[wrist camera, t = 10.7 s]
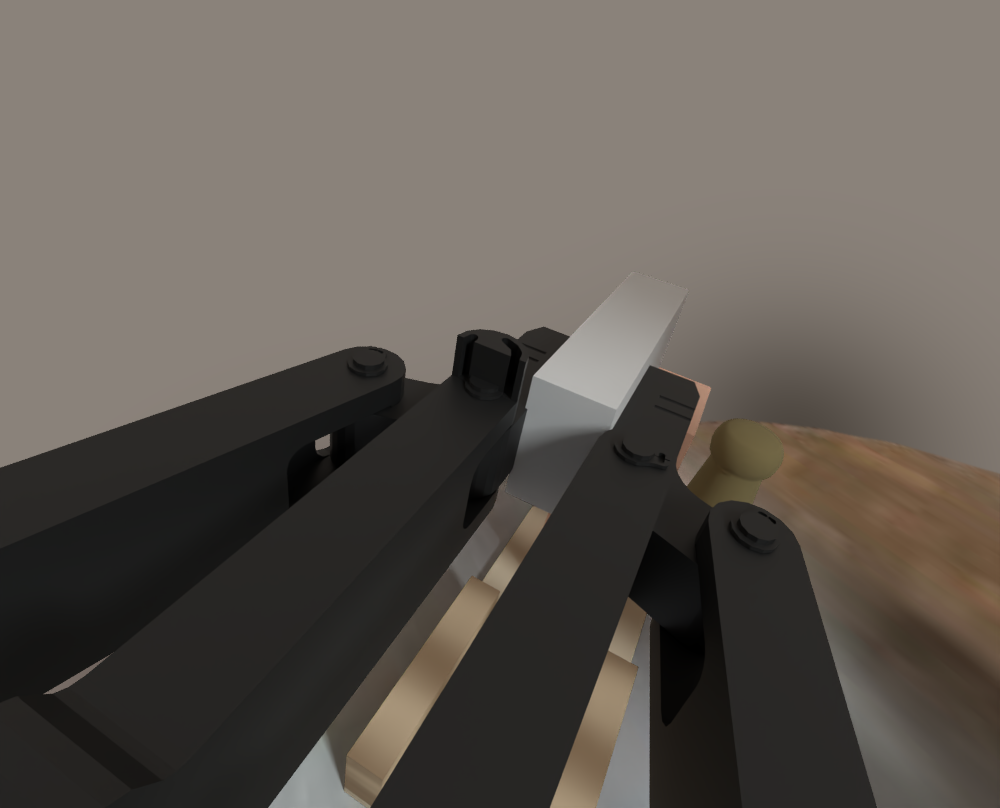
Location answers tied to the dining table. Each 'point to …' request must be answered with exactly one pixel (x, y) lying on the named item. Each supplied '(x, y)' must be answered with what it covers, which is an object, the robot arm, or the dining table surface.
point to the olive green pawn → (737, 462)
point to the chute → (442, 656)
